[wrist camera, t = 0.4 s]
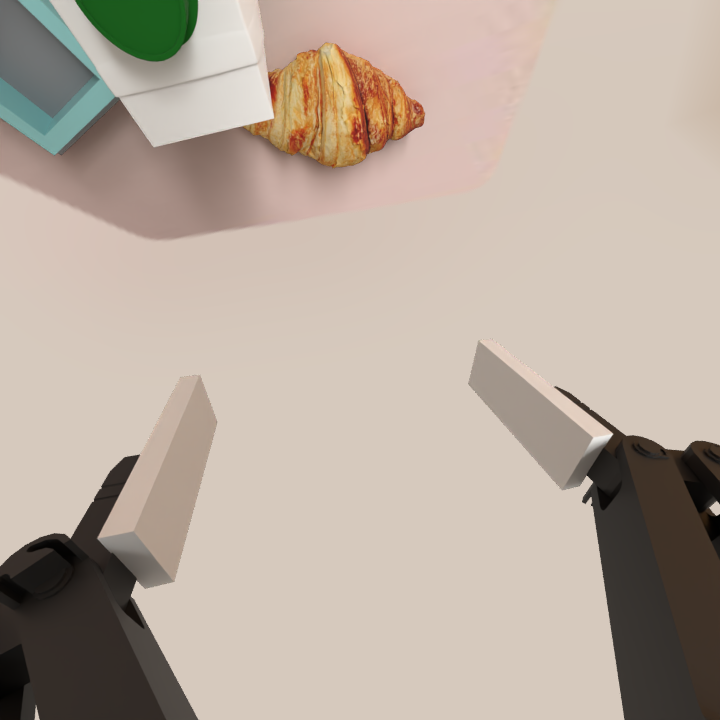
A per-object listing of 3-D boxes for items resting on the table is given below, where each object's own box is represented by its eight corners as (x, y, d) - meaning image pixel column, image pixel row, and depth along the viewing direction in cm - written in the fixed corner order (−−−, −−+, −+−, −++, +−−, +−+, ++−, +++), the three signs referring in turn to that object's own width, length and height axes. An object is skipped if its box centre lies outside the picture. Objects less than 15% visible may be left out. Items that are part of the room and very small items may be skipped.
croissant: (232, 114, 34) (241, 184, 34) (201, 15, 24) (214, 114, 24) (406, 117, 37) (413, 180, 38) (441, 32, 28) (450, 119, 28)
